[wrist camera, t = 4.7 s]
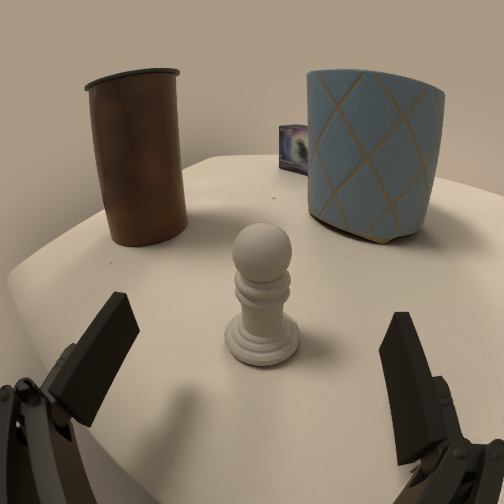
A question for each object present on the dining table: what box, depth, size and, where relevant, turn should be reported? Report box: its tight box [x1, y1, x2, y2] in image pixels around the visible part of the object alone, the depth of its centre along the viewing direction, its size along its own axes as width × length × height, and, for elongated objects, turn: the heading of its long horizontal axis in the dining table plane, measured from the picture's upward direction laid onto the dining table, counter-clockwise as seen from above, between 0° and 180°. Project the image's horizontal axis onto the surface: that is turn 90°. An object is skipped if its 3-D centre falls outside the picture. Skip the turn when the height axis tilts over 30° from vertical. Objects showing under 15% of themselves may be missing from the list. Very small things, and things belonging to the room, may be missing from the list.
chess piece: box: [225, 223, 300, 366], centre depth 17 cm, size 5×5×9 cm
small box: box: [279, 125, 308, 175], centre depth 59 cm, size 11×6×10 cm, turn 41°
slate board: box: [85, 68, 180, 91], centre depth 26 cm, size 12×12×1 cm
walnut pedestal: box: [89, 72, 188, 247], centre depth 31 cm, size 11×11×20 cm
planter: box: [307, 69, 445, 244], centre depth 33 cm, size 19×19×20 cm
